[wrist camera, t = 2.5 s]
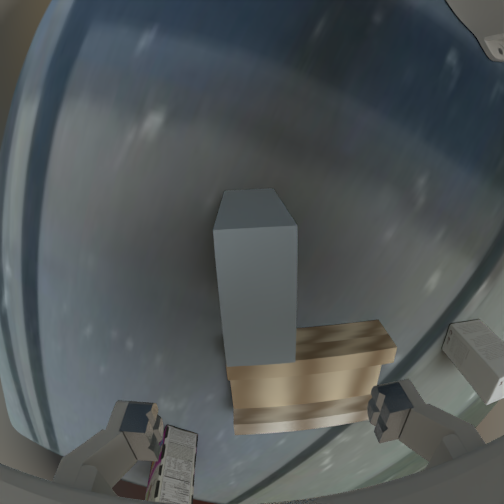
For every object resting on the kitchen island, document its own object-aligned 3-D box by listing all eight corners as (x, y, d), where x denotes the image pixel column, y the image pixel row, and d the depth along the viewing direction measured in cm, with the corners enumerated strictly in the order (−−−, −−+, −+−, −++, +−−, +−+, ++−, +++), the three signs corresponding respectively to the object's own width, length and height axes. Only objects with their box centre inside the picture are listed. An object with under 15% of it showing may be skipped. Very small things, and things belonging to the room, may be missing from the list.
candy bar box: (181, 466, 43) (171, 550, 28) (152, 458, 42) (136, 542, 27) (201, 432, 40) (192, 533, 24) (167, 422, 39) (148, 523, 24)
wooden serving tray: (378, 319, 34) (396, 347, 29) (364, 390, 38) (377, 419, 33) (227, 332, 34) (225, 364, 29) (235, 403, 38) (235, 436, 33)
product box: (272, 188, 29) (297, 225, 17) (275, 279, 32) (295, 362, 20) (222, 190, 29) (210, 230, 17) (229, 281, 32) (224, 366, 20)
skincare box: (440, 349, 37) (484, 406, 25) (449, 322, 35) (499, 378, 24) (471, 343, 37) (516, 393, 26) (480, 318, 36) (530, 366, 24)
